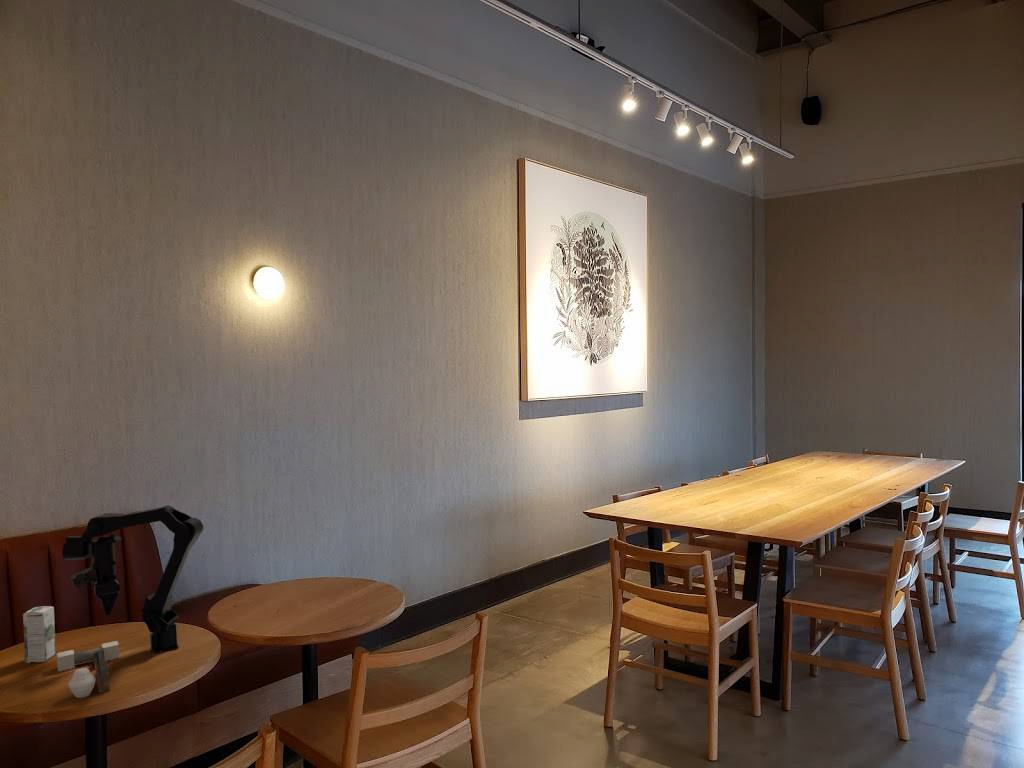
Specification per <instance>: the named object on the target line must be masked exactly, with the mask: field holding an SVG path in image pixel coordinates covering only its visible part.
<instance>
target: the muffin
mask: <svg viewBox="0 0 1024 768" xmlns="http://www.w3.org/2000/svg"><path fill="white" fill-rule="evenodd" d="M96 682H97V678H96V675H95V674H92V672H91V671H90V669H89V668H87V667H81V668H78V669H76V670H75V671H74V672H73V676H72V677H71V679H70V680H69V681H68V683H67V686H68V687H69V690H70V692H71V693H72V694H73V696H75V698H76V699H81V698H86V697H88V696H90V695H91V693H92V691H93V690H94V689H93V688H94V687H95V684H96Z"/></svg>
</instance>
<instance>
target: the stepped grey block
mask: <svg viewBox="0 0 1024 768" xmlns="http://www.w3.org/2000/svg"><path fill="white" fill-rule="evenodd" d="M96 659H97V660H99V665H100V670H101V675H102V678H104V677H107V674H106V666H105V662H104V649H100V650H96Z"/></svg>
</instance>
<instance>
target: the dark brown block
mask: <svg viewBox="0 0 1024 768" xmlns="http://www.w3.org/2000/svg"><path fill="white" fill-rule="evenodd" d="M99 650H100V649H99ZM93 653H94V660H93V666H94V667H93V668H95V667H96V668H95V677H97V678H96V682H97V683H96V684H97V687H98V691H99V693H100V692H101V693H103V692H104V693H105V692H109V691H111V686H110V685H111V684H110V683H111V682H110V673H109V668H108V664H107V661H106V659H105V657H104V662H105V666H106V674H107V677H104V678H102V675H101V670H100V665H99V660H97V659H96V650H94V651H93ZM108 690H109V691H108ZM101 693H100V694H101Z"/></svg>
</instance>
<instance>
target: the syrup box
mask: <svg viewBox="0 0 1024 768" xmlns="http://www.w3.org/2000/svg"><path fill="white" fill-rule="evenodd" d="M22 617H23V619H22V620H23V642H24V643H23V645H24V663H25V664H31V663H30V662H36V663H44V662H48V660H50V659H52V658H53V657H54V656H56V655H57V653H56V648H57V647H56V630H55V629H56V628H55V627H56V625H55V607H54V606H50V605H49V606H47V605H43V606H42V605H41V606H36V607H32V608H31V609H29V610H27V611H26V612H24V613H23V614H22Z"/></svg>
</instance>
